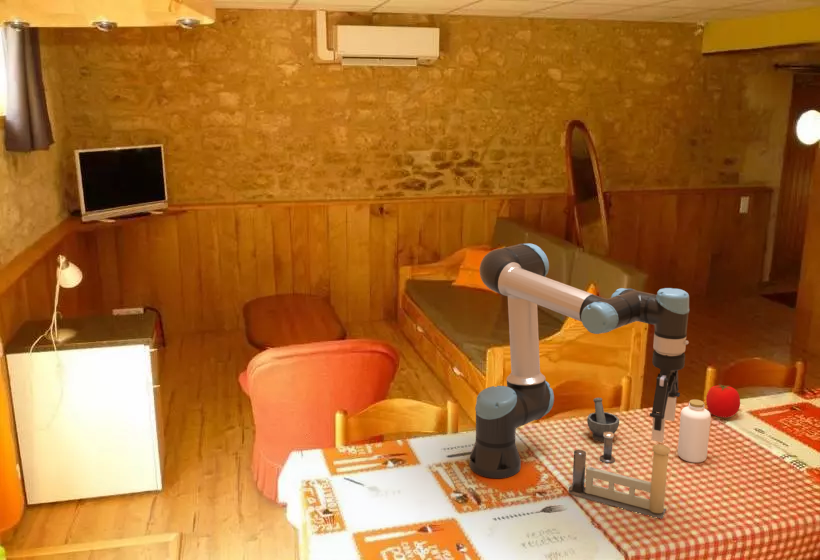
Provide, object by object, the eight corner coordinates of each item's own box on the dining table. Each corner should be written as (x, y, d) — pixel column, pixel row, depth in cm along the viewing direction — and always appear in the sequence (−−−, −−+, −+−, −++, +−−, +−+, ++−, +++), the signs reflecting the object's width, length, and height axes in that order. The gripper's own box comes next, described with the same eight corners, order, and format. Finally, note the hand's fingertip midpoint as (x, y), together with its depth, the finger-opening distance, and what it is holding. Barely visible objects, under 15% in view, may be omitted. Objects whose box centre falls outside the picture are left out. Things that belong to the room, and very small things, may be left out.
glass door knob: (597, 461, 214) (599, 435, 212) (602, 455, 218) (603, 429, 216) (612, 464, 212) (614, 438, 210) (616, 458, 216) (618, 432, 214)
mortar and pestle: (622, 443, 225) (624, 408, 222) (594, 446, 224) (596, 410, 221) (608, 428, 236) (610, 394, 233) (580, 430, 235) (582, 396, 232)
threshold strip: (571, 495, 196) (571, 493, 196) (577, 486, 201) (577, 485, 200) (661, 519, 184) (661, 518, 184) (666, 510, 189) (666, 509, 188)
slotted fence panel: (583, 494, 195) (586, 435, 191) (588, 487, 198) (591, 429, 194) (662, 516, 184) (668, 453, 180) (666, 508, 188) (671, 446, 184)
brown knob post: (565, 493, 197) (567, 454, 194) (571, 485, 201) (573, 446, 198) (584, 498, 194) (586, 458, 192) (590, 490, 199) (592, 450, 196)
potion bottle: (676, 461, 214) (681, 405, 209) (677, 448, 221) (682, 395, 217) (706, 466, 211) (712, 409, 206) (706, 453, 218) (711, 398, 214)
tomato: (744, 422, 239) (747, 392, 236) (712, 422, 239) (715, 392, 237) (730, 408, 249) (733, 380, 247) (700, 409, 249) (702, 380, 247)
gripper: (674, 369, 164) (668, 453, 169) (694, 339, 185) (688, 414, 190) (641, 364, 168) (636, 446, 173) (664, 334, 189) (658, 409, 194)
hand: (663, 430), depth 182 cm, fingers open, 13 cm apart
